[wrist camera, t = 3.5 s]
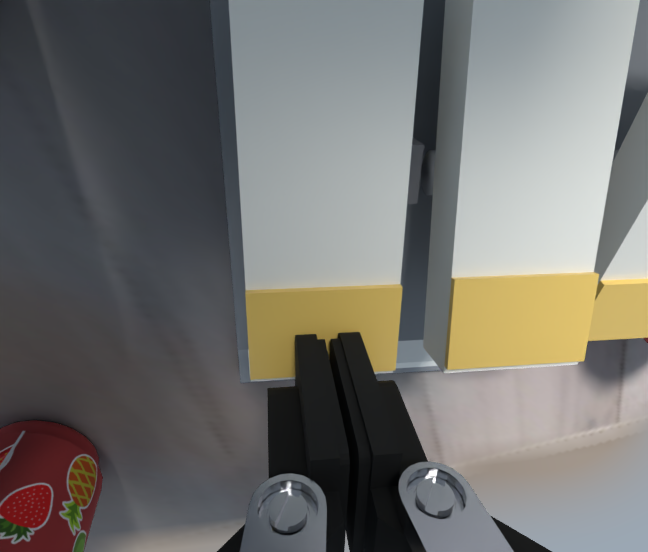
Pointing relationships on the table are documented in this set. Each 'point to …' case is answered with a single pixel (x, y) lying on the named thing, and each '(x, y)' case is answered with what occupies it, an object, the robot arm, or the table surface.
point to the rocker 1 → (323, 170)
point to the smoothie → (46, 487)
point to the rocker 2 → (521, 178)
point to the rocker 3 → (624, 242)
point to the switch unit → (411, 356)
